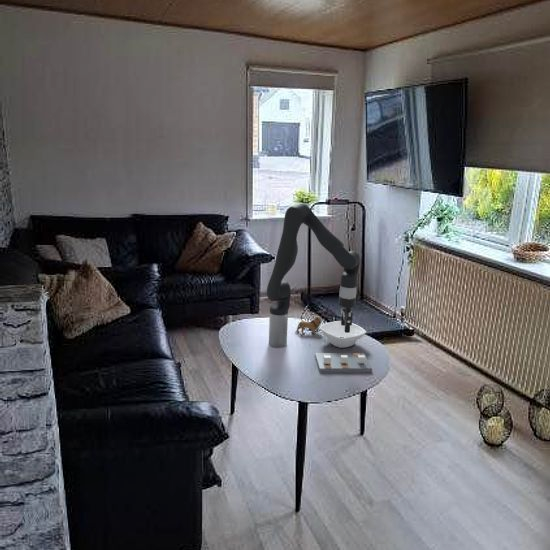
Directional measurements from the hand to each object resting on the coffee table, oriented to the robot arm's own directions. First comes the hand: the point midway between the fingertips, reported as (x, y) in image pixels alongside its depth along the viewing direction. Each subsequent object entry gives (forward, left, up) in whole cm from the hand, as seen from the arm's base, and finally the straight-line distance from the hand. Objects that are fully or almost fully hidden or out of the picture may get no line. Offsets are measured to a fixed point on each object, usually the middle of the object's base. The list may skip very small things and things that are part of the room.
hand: (345, 328), depth 228 cm
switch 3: (+2, +8, -16) cm, 18 cm away
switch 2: (+2, 0, -16) cm, 16 cm away
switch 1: (+3, -8, -16) cm, 18 cm away
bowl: (-23, +4, -18) cm, 30 cm away
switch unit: (0, 0, -18) cm, 18 cm away
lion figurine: (-38, -11, -18) cm, 44 cm away
